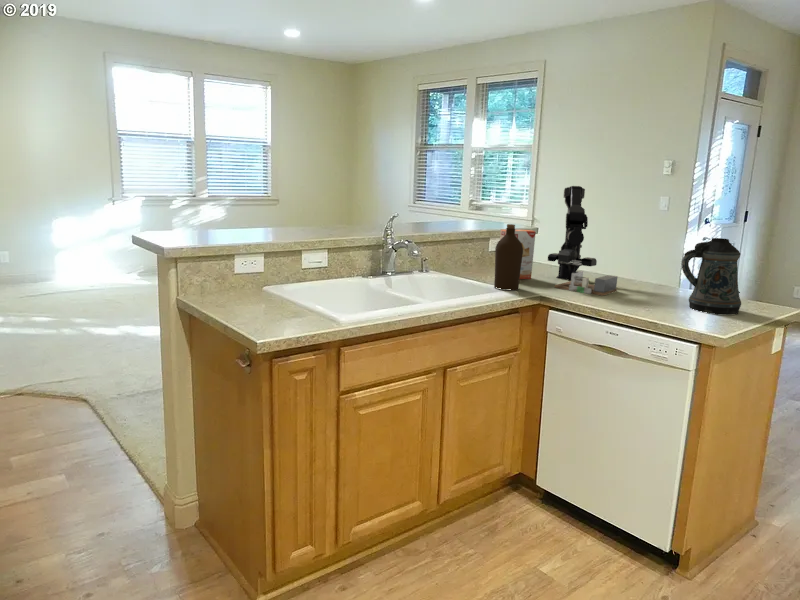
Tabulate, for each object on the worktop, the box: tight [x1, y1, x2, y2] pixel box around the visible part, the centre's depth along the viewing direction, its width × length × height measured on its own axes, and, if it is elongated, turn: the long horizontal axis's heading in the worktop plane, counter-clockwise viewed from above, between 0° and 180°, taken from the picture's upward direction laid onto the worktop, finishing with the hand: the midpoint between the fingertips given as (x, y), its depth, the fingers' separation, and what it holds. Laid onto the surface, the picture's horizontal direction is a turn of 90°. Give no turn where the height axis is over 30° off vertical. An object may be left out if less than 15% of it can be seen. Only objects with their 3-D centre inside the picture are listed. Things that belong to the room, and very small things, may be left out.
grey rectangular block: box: [594, 274, 618, 293], centre depth 237 cm, size 4×12×5 cm, turn 139°
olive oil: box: [493, 223, 523, 291], centre depth 236 cm, size 11×11×25 cm
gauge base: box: [554, 281, 618, 296], centre depth 242 cm, size 20×15×2 cm
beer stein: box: [681, 237, 742, 315], centre depth 211 cm, size 16×19×25 cm
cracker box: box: [499, 228, 537, 280], centre depth 260 cm, size 14×6×21 cm, turn 107°
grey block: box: [571, 270, 587, 286], centre depth 242 cm, size 5×10×5 cm, turn 139°
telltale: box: [582, 277, 590, 288], centre depth 236 cm, size 2×2×4 cm
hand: (569, 280), depth 246 cm, fingers closed
